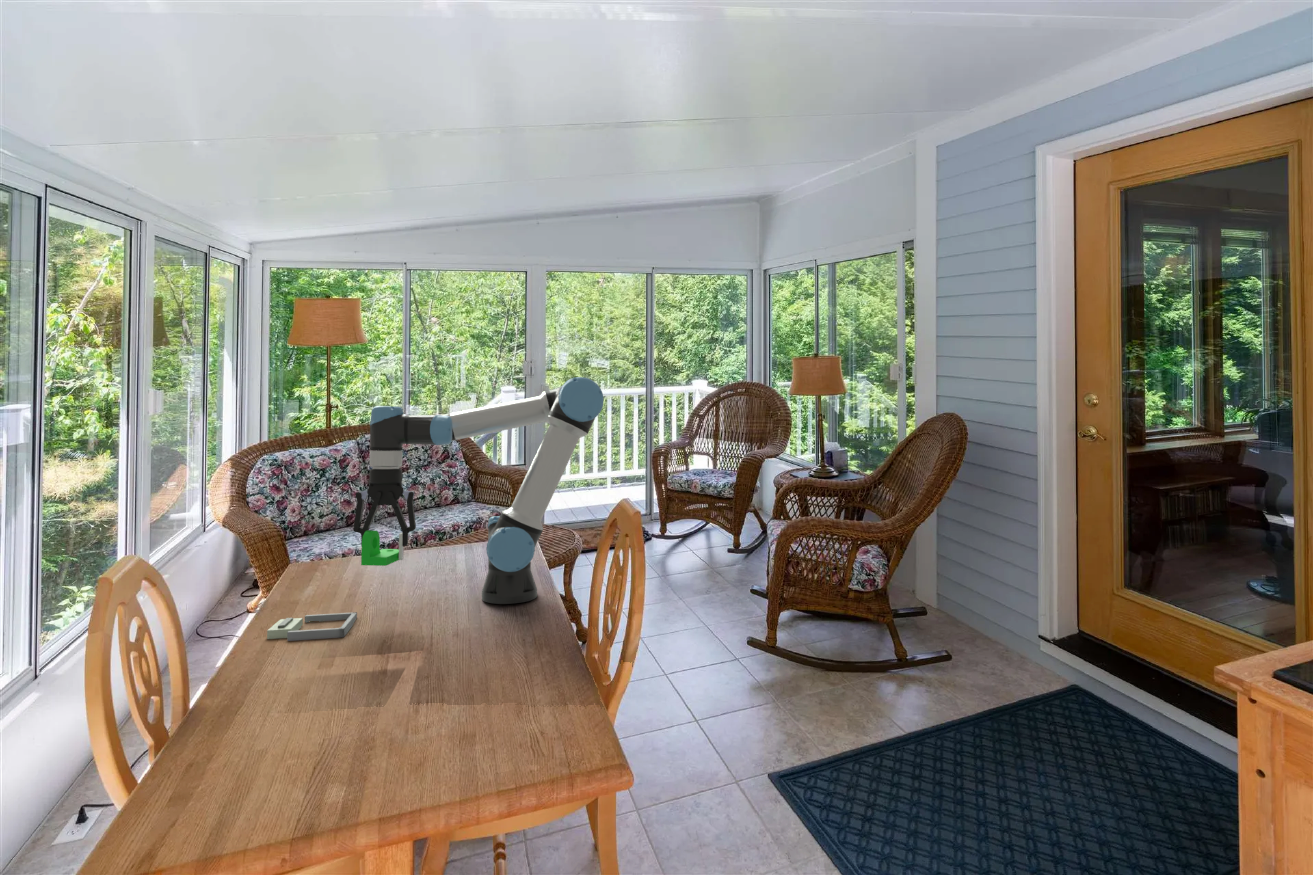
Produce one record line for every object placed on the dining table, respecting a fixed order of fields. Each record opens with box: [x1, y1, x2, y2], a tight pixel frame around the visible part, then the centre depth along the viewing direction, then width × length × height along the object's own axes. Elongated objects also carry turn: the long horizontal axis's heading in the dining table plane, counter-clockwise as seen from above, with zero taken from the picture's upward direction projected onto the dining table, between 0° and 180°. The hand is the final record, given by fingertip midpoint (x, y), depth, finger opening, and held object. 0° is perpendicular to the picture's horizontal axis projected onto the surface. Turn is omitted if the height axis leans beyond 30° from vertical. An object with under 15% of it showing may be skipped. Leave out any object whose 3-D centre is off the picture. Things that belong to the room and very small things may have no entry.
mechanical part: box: [360, 530, 400, 567], centre depth 166 cm, size 12×6×8 cm, turn 179°
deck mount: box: [266, 611, 358, 642], centre depth 161 cm, size 17×16×3 cm
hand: (384, 559), depth 166 cm, fingers closed on mechanical part, 7 cm apart
